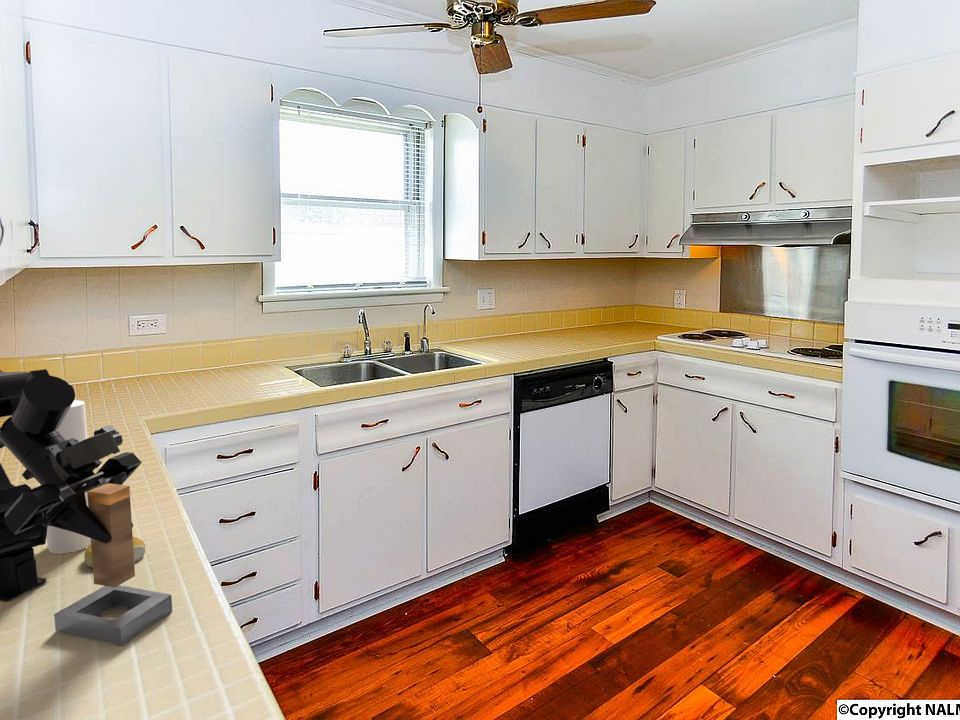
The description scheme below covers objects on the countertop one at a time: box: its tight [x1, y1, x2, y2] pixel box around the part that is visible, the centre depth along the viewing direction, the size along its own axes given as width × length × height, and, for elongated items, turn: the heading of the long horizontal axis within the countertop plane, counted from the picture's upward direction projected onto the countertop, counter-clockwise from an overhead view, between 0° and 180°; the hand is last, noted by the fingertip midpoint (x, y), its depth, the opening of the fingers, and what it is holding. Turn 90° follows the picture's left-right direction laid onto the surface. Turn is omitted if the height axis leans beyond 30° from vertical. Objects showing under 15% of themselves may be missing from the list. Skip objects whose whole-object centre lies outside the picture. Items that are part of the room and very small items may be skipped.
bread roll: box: [83, 535, 146, 568], centre depth 111 cm, size 8×9×4 cm
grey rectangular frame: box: [53, 584, 173, 647], centre depth 92 cm, size 11×9×2 cm
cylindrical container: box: [46, 399, 91, 554], centre depth 114 cm, size 7×7×25 cm
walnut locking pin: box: [87, 483, 136, 587], centre depth 90 cm, size 4×4×13 cm
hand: (120, 534), depth 90 cm, fingers closed on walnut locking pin, 4 cm apart
